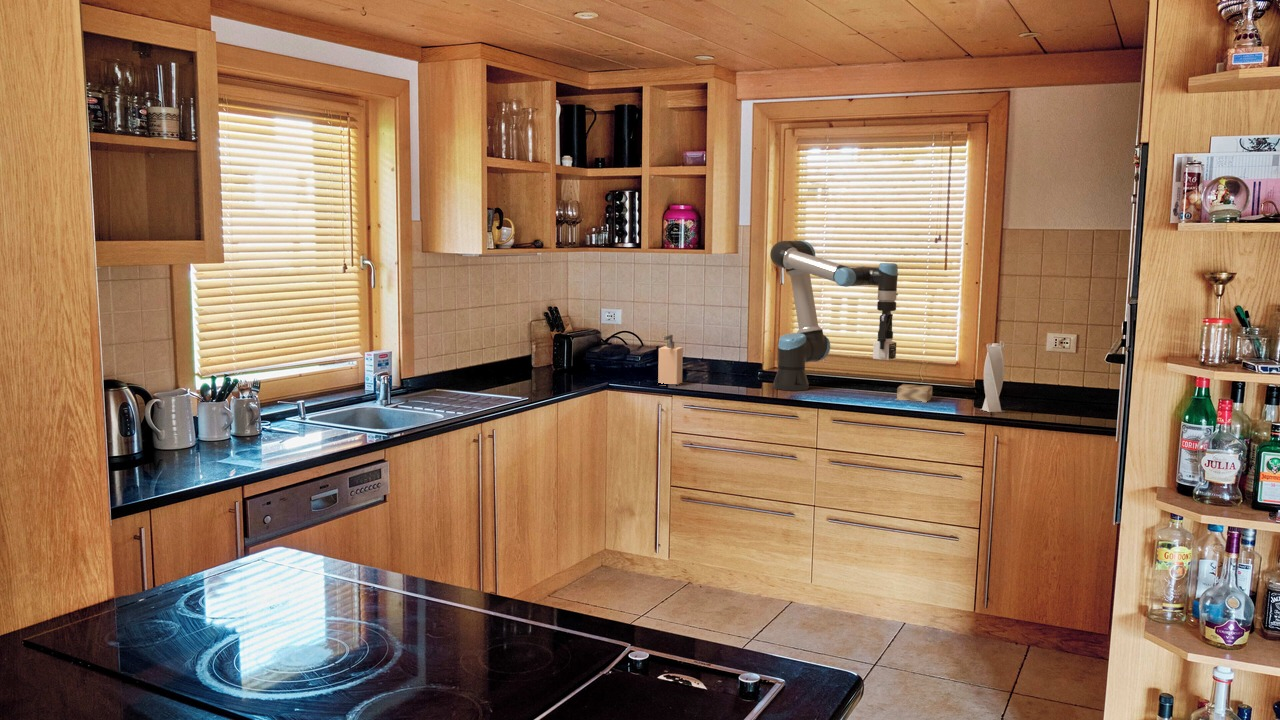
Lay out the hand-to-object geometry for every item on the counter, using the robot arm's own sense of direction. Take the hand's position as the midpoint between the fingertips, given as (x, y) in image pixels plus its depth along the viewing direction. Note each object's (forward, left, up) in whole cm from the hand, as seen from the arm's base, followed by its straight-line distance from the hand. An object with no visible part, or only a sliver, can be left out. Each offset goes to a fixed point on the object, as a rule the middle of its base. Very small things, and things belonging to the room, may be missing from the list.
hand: (884, 355), depth 415 cm
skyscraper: (+45, -13, -17) cm, 50 cm away
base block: (+13, +1, -17) cm, 21 cm away
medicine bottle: (0, 0, -2) cm, 2 cm away
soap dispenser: (-90, -16, -17) cm, 93 cm away
